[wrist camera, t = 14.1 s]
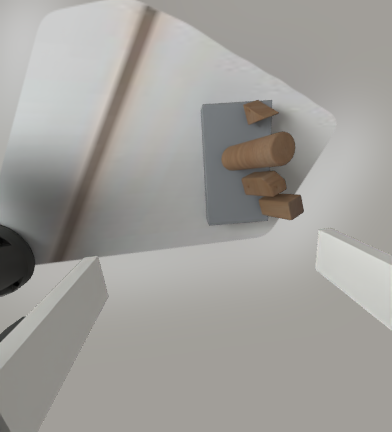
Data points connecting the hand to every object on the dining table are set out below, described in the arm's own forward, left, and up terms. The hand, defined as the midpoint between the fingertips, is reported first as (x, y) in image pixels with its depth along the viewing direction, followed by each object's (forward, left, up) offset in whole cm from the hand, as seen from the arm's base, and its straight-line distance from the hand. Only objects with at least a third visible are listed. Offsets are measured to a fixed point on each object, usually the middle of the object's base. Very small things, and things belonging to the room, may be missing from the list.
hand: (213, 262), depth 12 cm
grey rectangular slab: (+8, +4, -27) cm, 29 cm away
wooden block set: (+10, +4, -24) cm, 26 cm away
